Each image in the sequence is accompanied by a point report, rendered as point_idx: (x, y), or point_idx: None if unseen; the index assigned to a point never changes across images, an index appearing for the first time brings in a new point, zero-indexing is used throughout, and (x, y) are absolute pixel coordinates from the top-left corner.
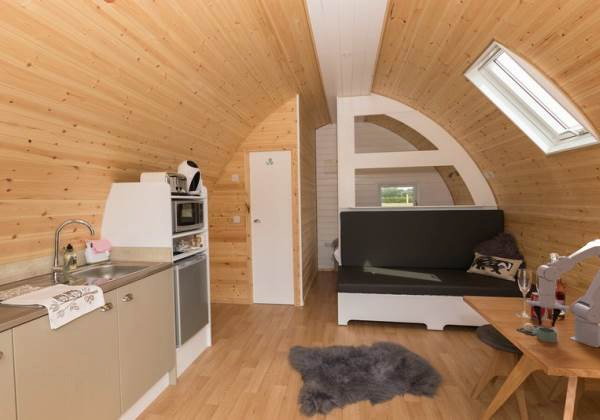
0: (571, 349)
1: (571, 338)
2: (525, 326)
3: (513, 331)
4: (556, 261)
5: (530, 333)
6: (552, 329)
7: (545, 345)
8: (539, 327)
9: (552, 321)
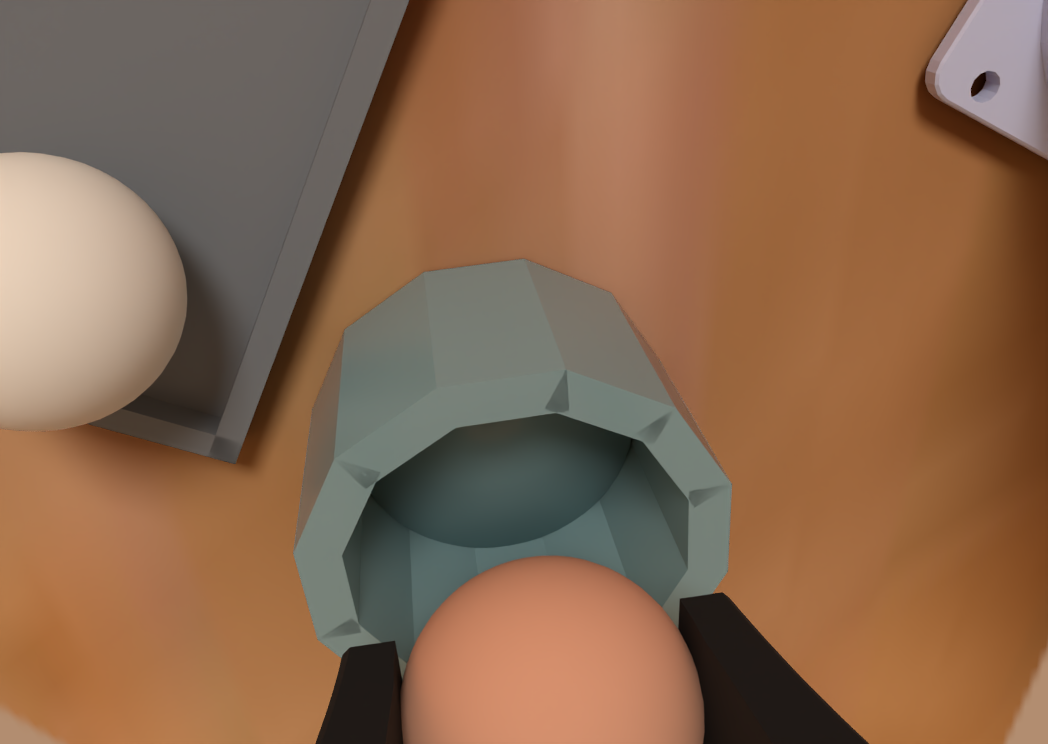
0: (836, 576)
1: (962, 101)
2: None
3: None
4: None
5: (178, 433)
6: (645, 442)
7: None
8: (347, 504)
9: (726, 730)
